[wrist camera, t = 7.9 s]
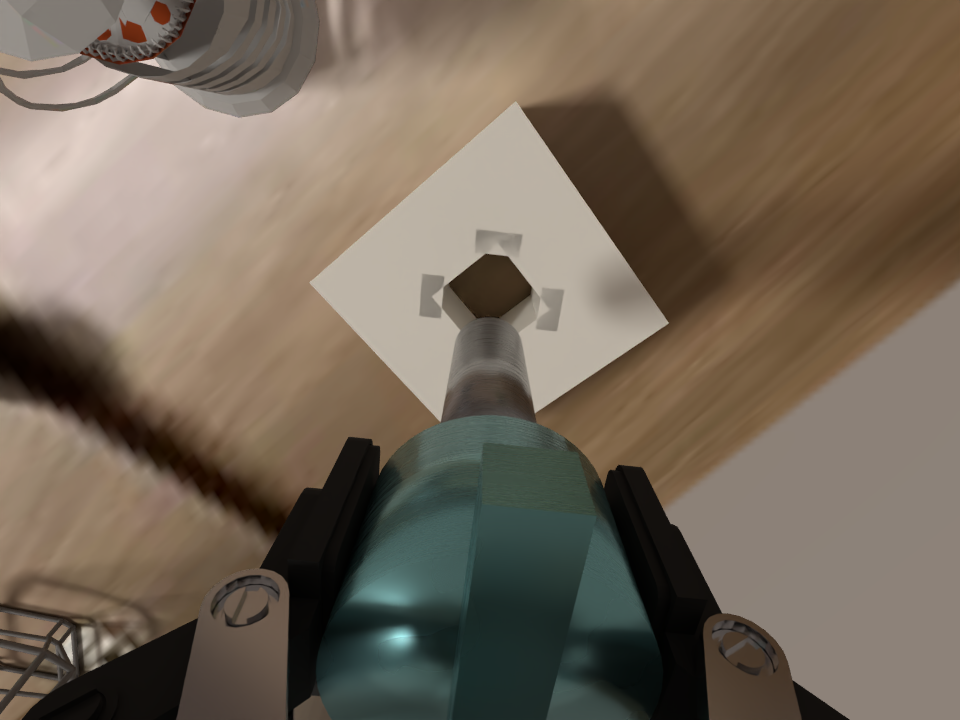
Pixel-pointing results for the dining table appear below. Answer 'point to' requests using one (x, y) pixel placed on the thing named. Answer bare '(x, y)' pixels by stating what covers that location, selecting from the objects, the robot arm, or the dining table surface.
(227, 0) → the french press
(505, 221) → the block
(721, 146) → the dining table surface
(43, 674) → the geometric lantern
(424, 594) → the teal strapped cylinder
